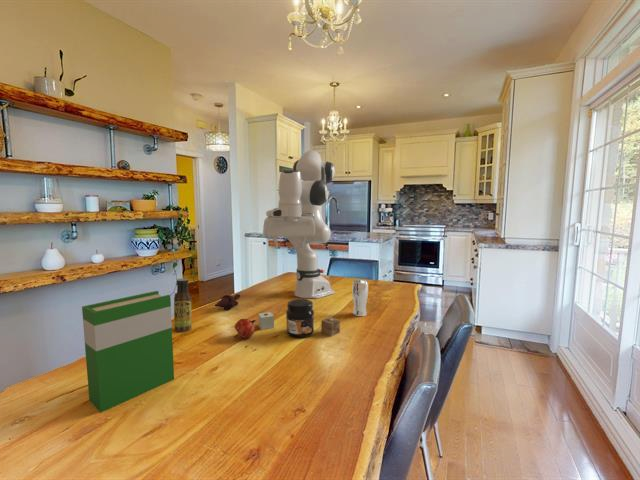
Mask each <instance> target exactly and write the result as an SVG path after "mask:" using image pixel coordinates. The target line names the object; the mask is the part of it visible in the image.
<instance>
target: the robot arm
mask: <svg viewBox="0 0 640 480" xmlns="http://www.w3.org/2000/svg"><path fill="white" fill-rule="evenodd" d="M335 175H336V169H335V165H334V163H333V162H330V161H323V160H322V157H321V155H320V153H319V152H318V151H316V150H307V151H305V152H304V153H303V154H301V156H300V157H299V159H297V160H295V162H294V164H293V165H292V169H288V170H287V169H285V170H281V172H280V174H279V181H278V196H279V200H278V207H275V208H272V209H269V210H267V211H266V212H265V213H266V215H265V216H266V218H265V219H264V221H263V227H262V228H263V229H262V233H263V236H264V237H267V238H269V237H272V241H273V243H274V244H275V245H274V247H275V249H277V250H278V249H279V250H280V249H281V244H280V243H278V241H277V240H278V238H279V237H281V238H282V237H284V238H285V237H286V239H287V240H288V241H289V242H290V243H291V245H292V246H293V248H294V251H295V253H296V262H297V263H296V265H297V266H296V267H297V268H296V286H295V289H294V291H295V292H294V294H293V295H294V296H295V297H297V298H300V299H321V298H324V297H327V296H330V295H335V292H336V291H335V290H334V289H332V288H331V283H330V281H329V280H327V279H326V278H325V277H324V276H322V275H321V274H324V273H325V270H324V269H323V268H322V269H321V268H320V269H319V262H318V261H319V256H318V253H317V252H316V251H315V250H313V249H312V248H311V246H310V244H311V245H323V244H327V243H328V242H329V240H331V235H332V232H331V228H330V227H329V226H328V225H327V224H326V222H325V221H324V219H323V216H322V215H323V214H322V211H323V210H322V209H323V205H324V204H325V203H326V202H327V200H328V195H329V193H328V190H329V189H328V187H327V185H328V184H329V183H331V182H332V181H333V179H334V177H335Z"/></svg>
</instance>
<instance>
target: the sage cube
mask: <svg viewBox="0 0 640 480" xmlns="http://www.w3.org/2000/svg"><path fill="white" fill-rule="evenodd" d="M257 316H258V327H259V329H260V330H261V331H263V330H269V329H274V328H275V316H274V314H273V313H272V312H270V311H267V312H262V313H261V312H260V313H258V315H257Z"/></svg>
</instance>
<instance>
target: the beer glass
mask: <svg viewBox="0 0 640 480" xmlns="http://www.w3.org/2000/svg"><path fill="white" fill-rule="evenodd" d="M351 291H352V292H351V293H352V300H353V311H352V315H353V316H355V317H361V318H362V317H366V316H367V315H368V314H367V302H368V297H369V296H368V295H369V282H368V281H367V280H365V279H355V280H353V281H352V289H351Z"/></svg>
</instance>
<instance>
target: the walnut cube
mask: <svg viewBox="0 0 640 480" xmlns="http://www.w3.org/2000/svg"><path fill="white" fill-rule="evenodd" d="M320 322H321V334H324V335H326V336H329V337H333V336H335V335H337V334H340V331H341V320H340V319H338V318H334V317H331V316H329V317H326V318H324V319H321V321H320Z"/></svg>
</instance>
